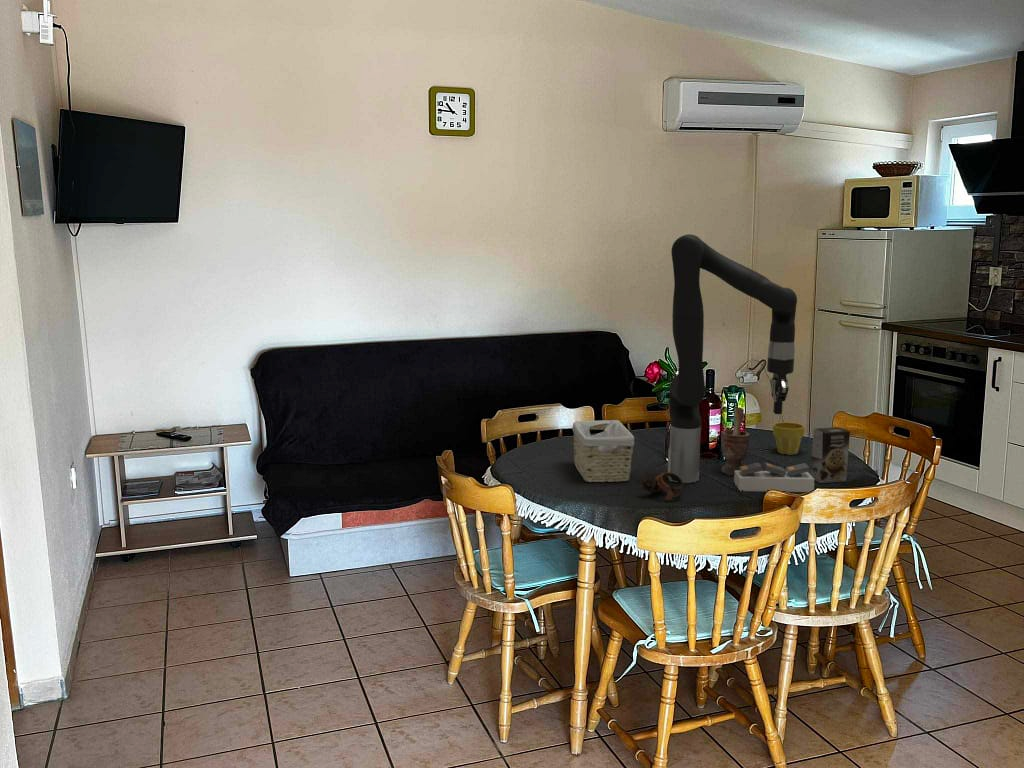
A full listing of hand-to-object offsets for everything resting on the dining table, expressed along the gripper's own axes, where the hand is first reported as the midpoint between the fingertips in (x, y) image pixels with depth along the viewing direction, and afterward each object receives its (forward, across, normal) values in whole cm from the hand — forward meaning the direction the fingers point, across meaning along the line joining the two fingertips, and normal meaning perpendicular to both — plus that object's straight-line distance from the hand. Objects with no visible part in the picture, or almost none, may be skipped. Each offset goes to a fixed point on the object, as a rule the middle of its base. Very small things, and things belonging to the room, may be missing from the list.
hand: (777, 413), depth 273 cm
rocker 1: (+17, 0, -7) cm, 19 cm away
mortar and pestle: (+23, -17, -9) cm, 30 cm away
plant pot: (+23, -40, +14) cm, 48 cm away
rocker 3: (+17, 0, +7) cm, 19 cm away
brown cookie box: (+23, -9, +19) cm, 31 cm away
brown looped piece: (+23, +10, -35) cm, 43 cm away
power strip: (+23, 0, 0) cm, 23 cm away
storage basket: (+23, -13, -51) cm, 58 cm away
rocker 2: (+17, 0, 0) cm, 17 cm away
